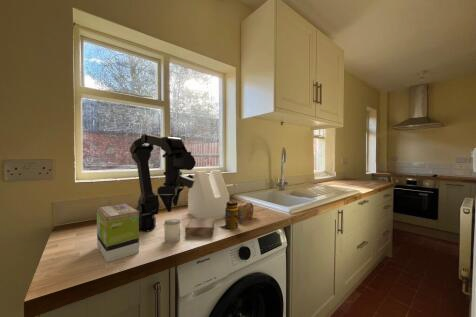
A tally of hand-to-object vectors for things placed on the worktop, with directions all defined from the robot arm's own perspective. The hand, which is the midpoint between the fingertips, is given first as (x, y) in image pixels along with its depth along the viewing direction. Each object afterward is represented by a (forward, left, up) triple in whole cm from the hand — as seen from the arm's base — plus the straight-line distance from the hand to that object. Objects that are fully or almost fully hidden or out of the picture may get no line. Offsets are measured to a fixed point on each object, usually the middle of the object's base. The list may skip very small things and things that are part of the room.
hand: (172, 208), depth 81 cm
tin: (+31, +25, -13) cm, 42 cm away
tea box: (-17, -8, -13) cm, 23 cm away
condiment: (+23, +13, -13) cm, 29 cm away
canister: (0, 0, -12) cm, 13 cm away
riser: (+10, +8, -12) cm, 18 cm away
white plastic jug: (+11, +35, -13) cm, 39 cm away
